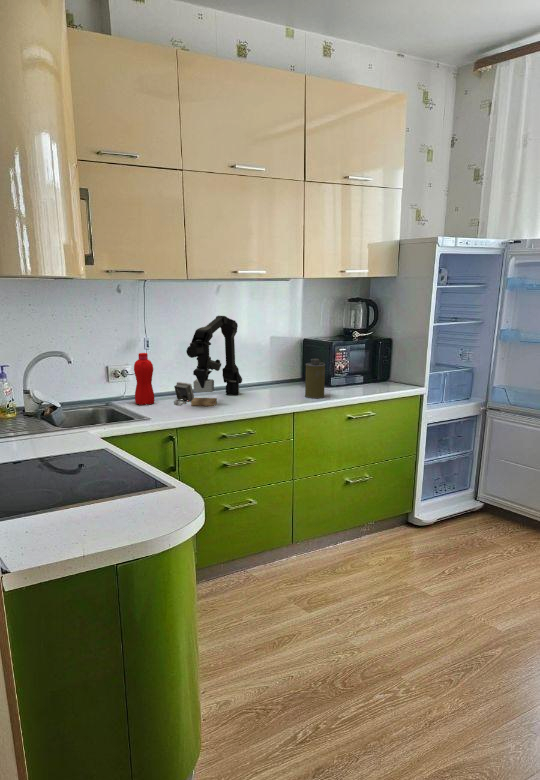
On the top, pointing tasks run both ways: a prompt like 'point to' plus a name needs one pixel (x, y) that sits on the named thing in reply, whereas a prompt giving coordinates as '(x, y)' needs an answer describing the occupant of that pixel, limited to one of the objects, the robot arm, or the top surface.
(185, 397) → the electrical switch
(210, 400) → the stand
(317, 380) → the canister
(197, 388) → the housing
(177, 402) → the bolt
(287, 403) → the top surface
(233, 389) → the robot arm
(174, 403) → the bolt
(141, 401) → the water bottle
